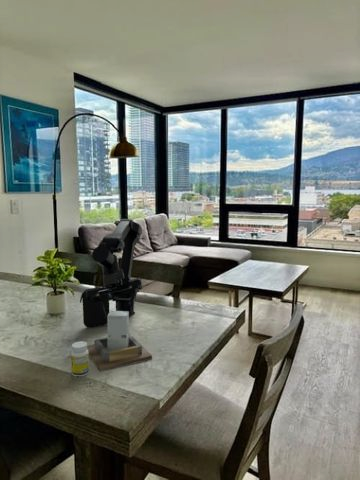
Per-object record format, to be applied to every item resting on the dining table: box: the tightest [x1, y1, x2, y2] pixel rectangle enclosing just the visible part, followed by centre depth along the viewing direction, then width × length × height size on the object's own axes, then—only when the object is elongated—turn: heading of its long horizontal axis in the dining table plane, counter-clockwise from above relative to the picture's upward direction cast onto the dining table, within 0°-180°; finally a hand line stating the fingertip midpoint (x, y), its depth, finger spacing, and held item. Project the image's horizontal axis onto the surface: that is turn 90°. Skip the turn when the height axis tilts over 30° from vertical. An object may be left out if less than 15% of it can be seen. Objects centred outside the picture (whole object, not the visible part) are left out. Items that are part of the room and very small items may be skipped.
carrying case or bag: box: [79, 286, 110, 329], centre depth 132 cm, size 11×3×15 cm, turn 115°
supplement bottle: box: [70, 340, 90, 377], centre depth 99 cm, size 5×5×8 cm
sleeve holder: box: [87, 333, 153, 372], centre depth 111 cm, size 16×16×4 cm
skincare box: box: [106, 310, 130, 352], centre depth 110 cm, size 6×4×12 cm
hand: (119, 313), depth 119 cm, fingers open, 9 cm apart
